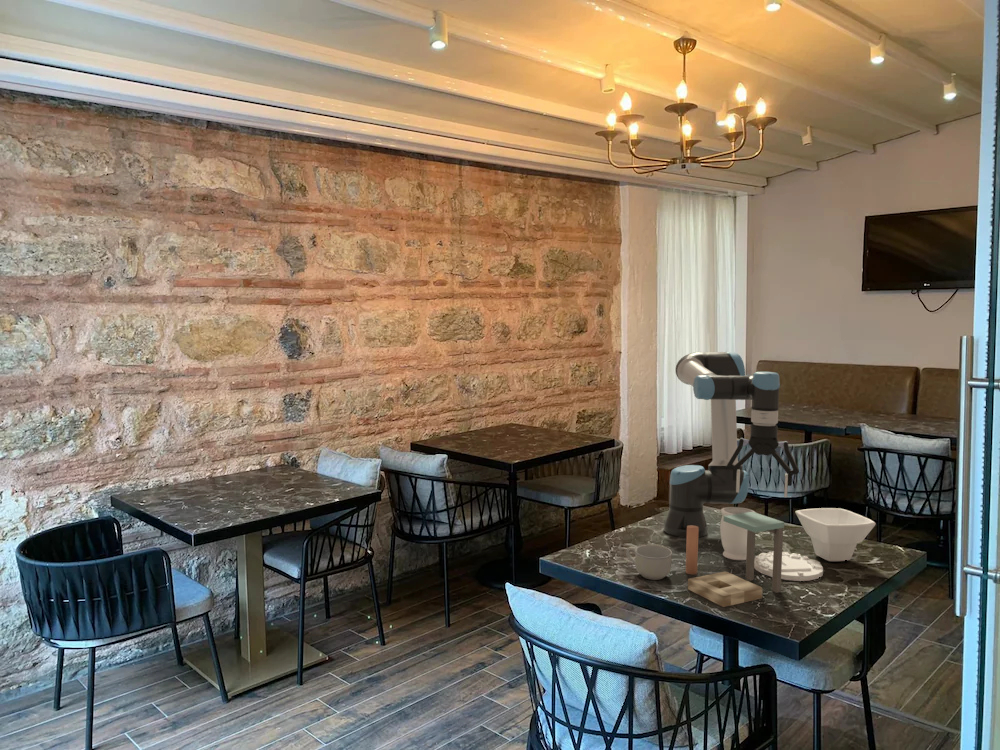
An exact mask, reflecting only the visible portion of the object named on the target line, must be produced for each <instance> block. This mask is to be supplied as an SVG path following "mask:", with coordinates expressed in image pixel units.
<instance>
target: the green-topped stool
mask: <svg viewBox="0 0 1000 750" xmlns="http://www.w3.org/2000/svg"><path fill="white" fill-rule="evenodd" d="M723 521H724V522H727V523H730V524H733V525H735V526H738V527H741V528H744V529H747V554H746V560H745V580H746V581H749V582H751V581H754V580H755V579H754V578H755V568H754V559H755V557H756V555H755V554H756V552H755V551H756V533H761V532H768V533H771V534H773V551H774V553H773V577H771V578H772V580H771V581H772V582H771V583H772V584H771V591H772V592H774V593H776V594H777V593H780V592H782V590H781V589H782V587H781V586H782V579H781V569H782V552H783V542H784V528H785V522H784V521H782V520H779V519H776V518H774V517H773V518H772V517H769V516H767V515H764V514H761V513H758V512H756V511H755V512H746V513H740V514H733V515H727V516H724V519H723Z"/></svg>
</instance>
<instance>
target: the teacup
mask: <svg viewBox="0 0 1000 750" xmlns="http://www.w3.org/2000/svg"><path fill="white" fill-rule="evenodd" d="M631 551H633V553H634V555H635V558H634V557H633V556H632V555H631ZM625 553H626V554H625V555H626V557H627V559H628V560H629V561H630V562H631V563H633V565H634V566H635V569H636V572H637V573H638V574H639V575H640V576H642V577H643V578H644V579H648V580H653V581H654V580H655V581H657V580H658V581H659V580H662V579H664V578H665V577H666V576H668V575H669V574H670V573H671V570H672V560H673V559H672V558H673V557H672V556H673V551H672V549H670V548H669V547H666V546H663V545H660V544H653V543H652V544H650V543H649V544H643V545H639V546H637V547H635V546H629V547H627V549H626V550H625Z"/></svg>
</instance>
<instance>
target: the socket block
mask: <svg viewBox="0 0 1000 750" xmlns="http://www.w3.org/2000/svg"><path fill="white" fill-rule="evenodd" d="M687 590H689V591H691V592H692V593H694V594H696V595H698V596H701V597H702V598H705V599H707V600H708V601H710V602H713V603H714V604H716V605H717V606H721V607H723V608H725V607H729V606H734V605H739V604H743V603H747V602H752V601H756V600H760V599H763V587H761V586H759V585H758V584H755V583H752V582H751V581H749V580H746V579H743V578H742V577H740V576H737V575H735V574H733V573H730V572H728V571H726V570H725V571H721V572H715V573H710V574H706V575H702V576H696V577H695V576H694V577H690V578H687Z"/></svg>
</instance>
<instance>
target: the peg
mask: <svg viewBox="0 0 1000 750" xmlns="http://www.w3.org/2000/svg"><path fill="white" fill-rule="evenodd" d="M698 532H699V527H698V526H694V525H689V526H687V537H686V542H685V543H686V545H685V547H686V548H685V549H686V550H685V551H686V552H685V573H686V574H687V575H697V574H698V565H699V564H698V559H699V557H698V554H699V537H698Z"/></svg>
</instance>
